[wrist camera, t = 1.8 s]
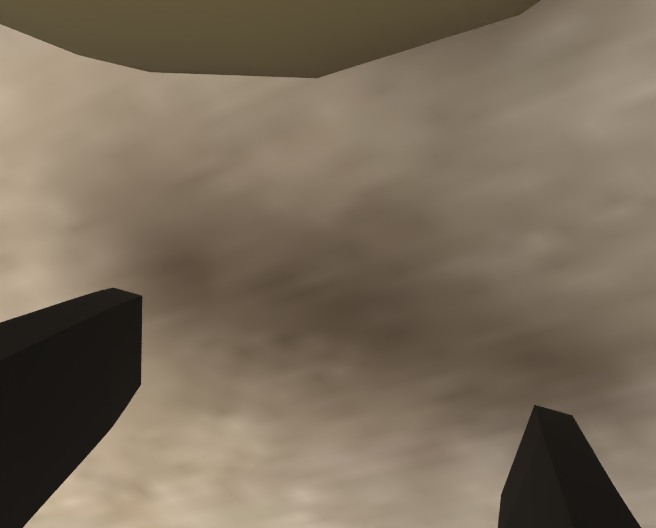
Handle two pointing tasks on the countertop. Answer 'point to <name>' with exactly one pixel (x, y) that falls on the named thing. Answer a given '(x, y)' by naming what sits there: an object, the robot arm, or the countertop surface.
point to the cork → (248, 31)
